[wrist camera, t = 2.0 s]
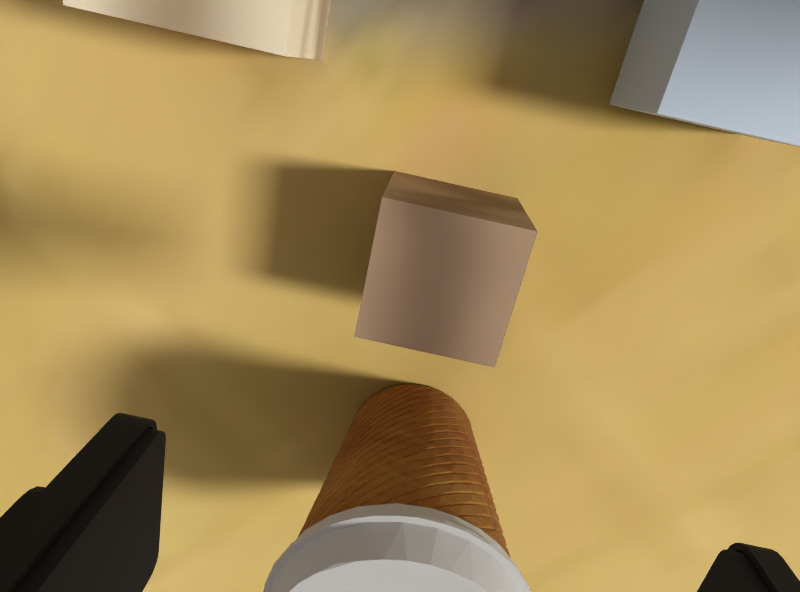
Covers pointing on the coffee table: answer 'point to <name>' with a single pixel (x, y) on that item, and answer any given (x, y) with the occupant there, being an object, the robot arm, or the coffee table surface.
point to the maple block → (232, 21)
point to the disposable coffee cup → (402, 508)
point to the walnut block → (444, 269)
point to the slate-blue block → (717, 66)
